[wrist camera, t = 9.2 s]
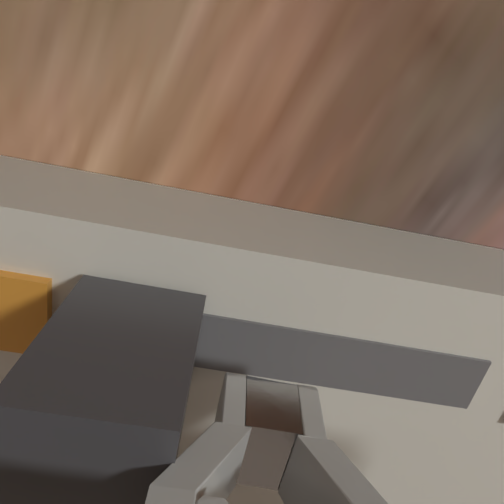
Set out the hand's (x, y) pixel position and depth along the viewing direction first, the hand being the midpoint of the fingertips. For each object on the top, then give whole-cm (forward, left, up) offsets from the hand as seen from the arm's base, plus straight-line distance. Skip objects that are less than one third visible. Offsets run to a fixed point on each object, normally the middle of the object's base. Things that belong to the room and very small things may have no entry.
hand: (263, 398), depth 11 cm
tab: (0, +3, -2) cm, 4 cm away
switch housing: (-4, -1, -6) cm, 7 cm away
